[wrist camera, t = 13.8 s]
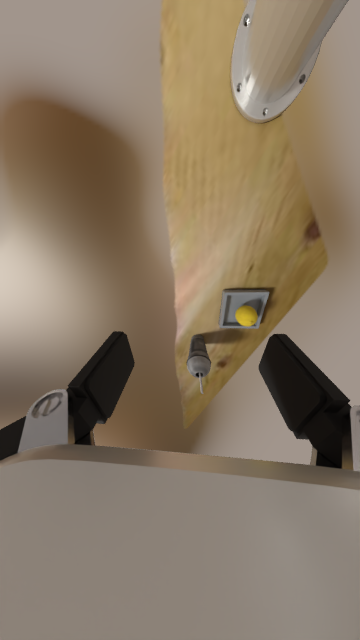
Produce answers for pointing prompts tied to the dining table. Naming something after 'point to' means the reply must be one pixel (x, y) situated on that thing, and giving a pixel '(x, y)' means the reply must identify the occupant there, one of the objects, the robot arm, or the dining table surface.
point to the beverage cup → (198, 359)
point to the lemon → (246, 315)
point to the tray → (238, 299)
